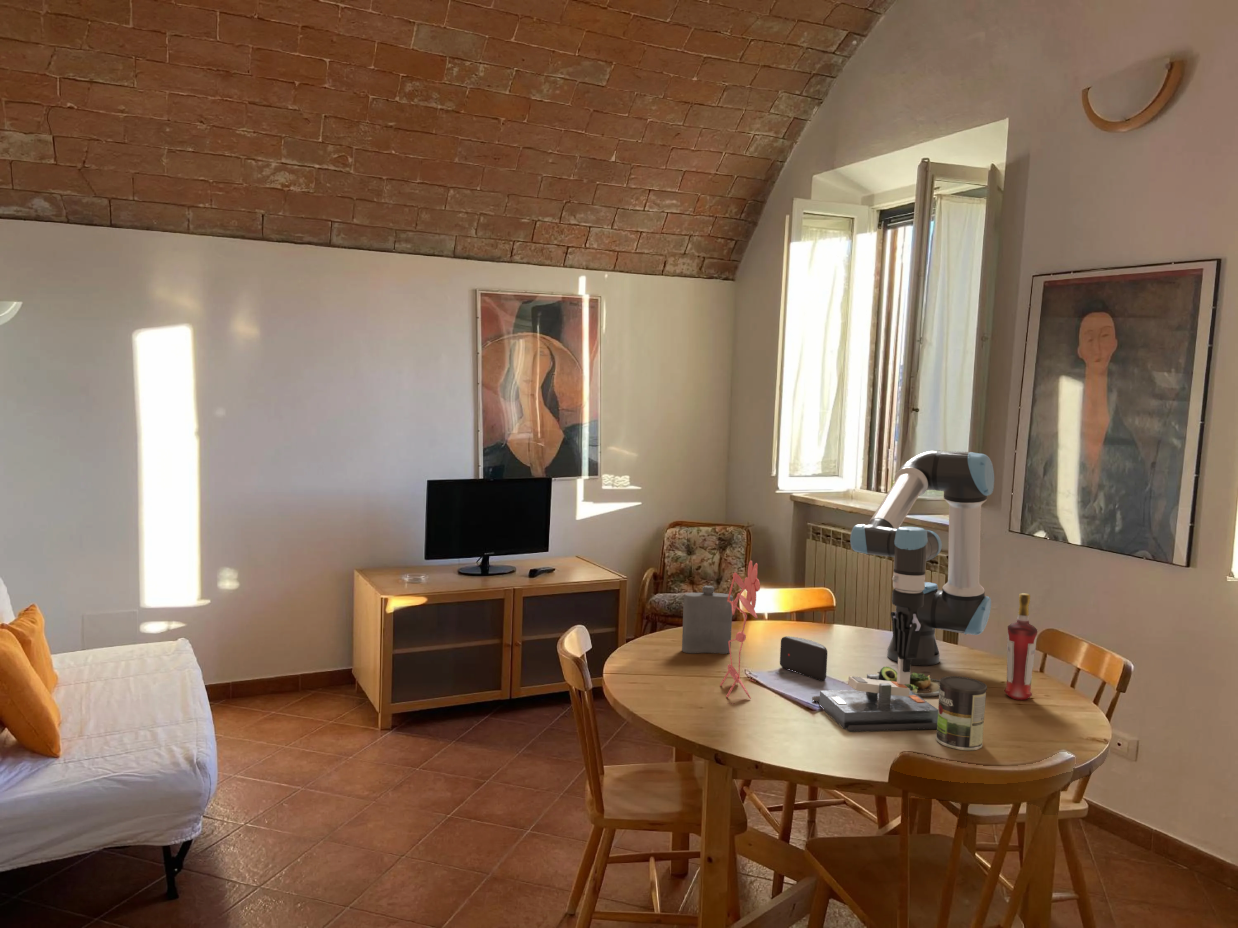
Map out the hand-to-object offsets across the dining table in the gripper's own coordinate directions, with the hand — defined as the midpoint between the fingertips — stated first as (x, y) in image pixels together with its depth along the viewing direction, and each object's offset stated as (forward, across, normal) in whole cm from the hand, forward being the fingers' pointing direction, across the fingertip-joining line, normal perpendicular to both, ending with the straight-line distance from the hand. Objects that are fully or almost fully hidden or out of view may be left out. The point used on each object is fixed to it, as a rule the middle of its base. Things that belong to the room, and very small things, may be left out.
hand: (903, 683), depth 230 cm
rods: (+8, -1, -7) cm, 11 cm away
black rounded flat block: (+8, -34, -13) cm, 38 cm away
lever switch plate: (+8, 0, -6) cm, 10 cm away
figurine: (+8, -20, -33) cm, 40 cm away
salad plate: (+9, -21, +12) cm, 26 cm away
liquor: (+8, -11, +39) cm, 41 cm away
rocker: (+1, 0, -6) cm, 6 cm away
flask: (+8, -58, -35) cm, 69 cm away
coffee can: (+9, +18, +6) cm, 21 cm away
